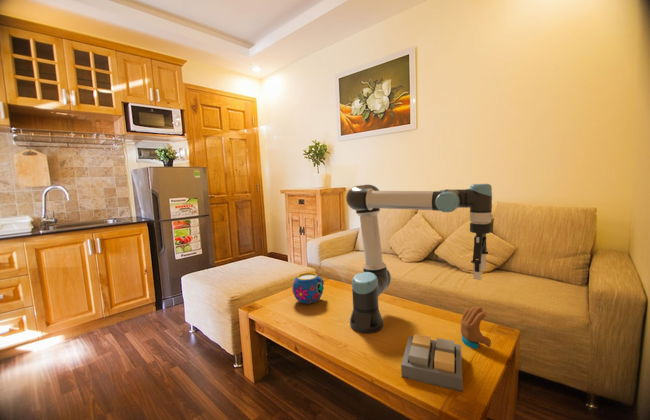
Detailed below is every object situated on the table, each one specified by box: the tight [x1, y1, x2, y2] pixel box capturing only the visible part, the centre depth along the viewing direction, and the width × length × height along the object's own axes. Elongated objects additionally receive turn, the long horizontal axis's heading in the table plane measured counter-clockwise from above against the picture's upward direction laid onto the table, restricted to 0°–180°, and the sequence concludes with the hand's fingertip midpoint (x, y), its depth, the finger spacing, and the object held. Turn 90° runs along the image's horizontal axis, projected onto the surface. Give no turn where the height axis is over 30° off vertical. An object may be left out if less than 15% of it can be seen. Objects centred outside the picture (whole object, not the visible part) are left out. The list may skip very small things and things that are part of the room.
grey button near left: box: [409, 345, 429, 367], centre depth 95 cm, size 6×6×4 cm
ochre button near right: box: [434, 350, 454, 373], centre depth 92 cm, size 6×6×4 cm
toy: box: [460, 306, 492, 350], centre depth 108 cm, size 12×7×15 cm, turn 5°
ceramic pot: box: [291, 272, 325, 304], centre depth 156 cm, size 18×18×15 cm
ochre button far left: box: [412, 333, 432, 353], centre depth 102 cm, size 6×6×4 cm
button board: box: [400, 335, 464, 393], centre depth 97 cm, size 18×18×4 cm
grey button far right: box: [435, 337, 455, 354], centre depth 99 cm, size 6×6×4 cm
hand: (479, 274), depth 112 cm, fingers open, 13 cm apart
